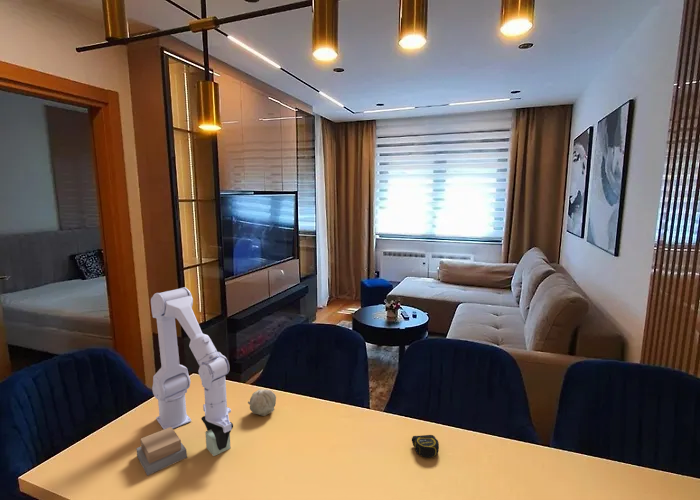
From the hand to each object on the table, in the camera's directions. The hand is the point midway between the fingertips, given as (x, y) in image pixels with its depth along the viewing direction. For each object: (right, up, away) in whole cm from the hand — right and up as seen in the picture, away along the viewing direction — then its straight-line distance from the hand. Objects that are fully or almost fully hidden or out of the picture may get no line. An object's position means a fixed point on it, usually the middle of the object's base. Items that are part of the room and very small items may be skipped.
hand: (218, 443), depth 106 cm
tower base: (-15, -3, -3) cm, 15 cm away
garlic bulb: (+8, +1, +17) cm, 19 cm away
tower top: (-14, 0, -4) cm, 15 cm away
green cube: (0, -1, 0) cm, 1 cm away
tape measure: (+59, -2, -1) cm, 59 cm away
